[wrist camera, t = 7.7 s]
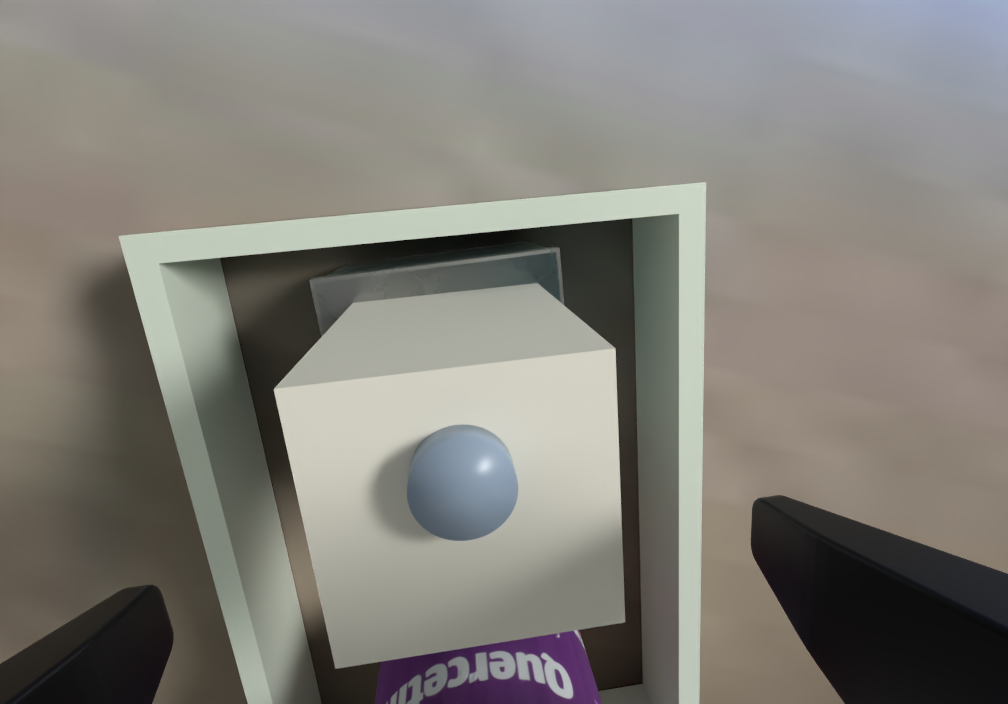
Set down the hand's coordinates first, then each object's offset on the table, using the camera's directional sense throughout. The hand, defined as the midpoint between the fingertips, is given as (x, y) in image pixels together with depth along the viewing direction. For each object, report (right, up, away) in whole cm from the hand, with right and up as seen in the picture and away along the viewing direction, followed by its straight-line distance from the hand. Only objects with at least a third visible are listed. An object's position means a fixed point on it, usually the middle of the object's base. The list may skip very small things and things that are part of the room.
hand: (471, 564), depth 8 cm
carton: (-1, +2, +7) cm, 8 cm away
